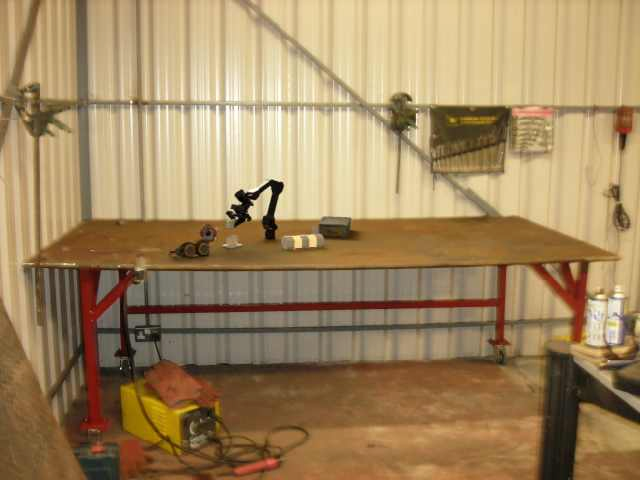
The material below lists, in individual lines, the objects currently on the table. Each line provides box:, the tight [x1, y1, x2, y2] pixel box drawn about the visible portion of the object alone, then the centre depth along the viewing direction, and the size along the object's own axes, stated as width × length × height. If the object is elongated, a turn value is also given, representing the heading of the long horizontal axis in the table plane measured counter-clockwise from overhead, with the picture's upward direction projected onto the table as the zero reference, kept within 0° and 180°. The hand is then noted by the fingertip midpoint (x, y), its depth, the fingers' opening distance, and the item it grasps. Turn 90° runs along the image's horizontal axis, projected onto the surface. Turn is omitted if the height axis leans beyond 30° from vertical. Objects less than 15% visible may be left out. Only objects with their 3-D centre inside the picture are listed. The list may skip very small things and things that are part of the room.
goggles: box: [169, 239, 211, 258], centre depth 393 cm, size 24×24×10 cm
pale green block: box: [226, 218, 238, 230], centre depth 414 cm, size 7×2×5 cm, turn 141°
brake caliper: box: [199, 223, 218, 242], centre depth 437 cm, size 11×11×12 cm
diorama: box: [280, 224, 325, 250], centre depth 416 cm, size 25×10×13 cm, turn 114°
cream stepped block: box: [221, 234, 243, 249], centre depth 416 cm, size 10×8×6 cm
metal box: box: [317, 216, 352, 239], centre depth 463 cm, size 21×32×10 cm, turn 174°
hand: (232, 226), depth 414 cm, fingers open, 4 cm apart
